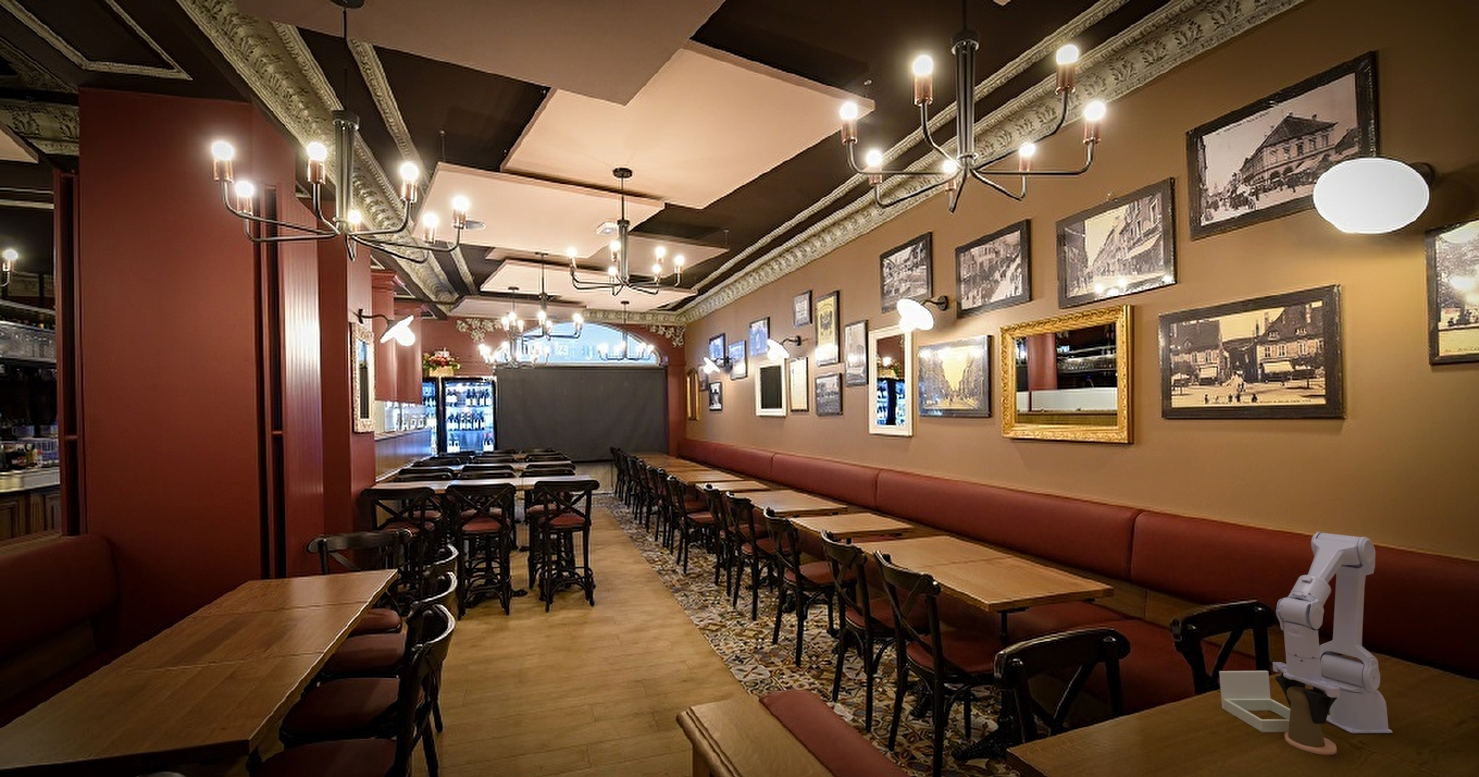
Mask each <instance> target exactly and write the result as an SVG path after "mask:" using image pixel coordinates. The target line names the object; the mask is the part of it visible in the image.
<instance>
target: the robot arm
mask: <svg viewBox="0 0 1479 777" xmlns="http://www.w3.org/2000/svg"><path fill="white" fill-rule="evenodd" d="M1310 542H1311V543H1310V546H1311V547H1310V548H1311V551H1312V553H1313V556H1314V557H1313V560H1312V563H1311V565H1310V567H1309V571H1308V572H1307V574H1303V575H1300V576H1299V577H1298V578H1297V580H1296V582H1295V584H1294V586H1293V587H1292V589H1291V590H1290V593H1289V594H1288V596H1286V597H1283V598H1280V599H1278V601H1277V604H1276V610H1275V614H1276V617H1277V619H1278V621H1279V625H1280V626H1279V627H1280V630H1281V631H1283V637H1284V639H1283V640H1284V649H1285V651H1284V652H1285V662H1286V663H1284V662H1282V661H1276V662H1275V661H1273V662H1272V671H1273V672H1275V673H1281V674H1280V675H1278V676H1277V675H1276V676H1275V681H1276V682H1277V683H1278V685H1279V687H1280V688H1281V690H1282V691H1283V694H1284V696H1285V698H1286V701H1287V703H1288V707H1289V708H1290V707H1291V701H1290V700H1289V699H1288V696H1287V690H1288V688H1289V687H1293V686H1297V687H1303V688H1306V685H1307V686H1308V687H1311V688H1312V689H1310V688H1307V689H1303V692H1304V694H1305V695H1306V697H1307V700H1308V702H1309V706H1310V710H1311V717H1312V720H1313V722H1314V723H1315V724H1320V725H1325V724H1326V723H1327V722H1328V723H1330V724H1332V725H1334V726H1336V727H1338V728H1340V729H1341V730H1344V731H1346V732H1348V733H1350V734H1390V733H1391V734H1393V730H1392V729H1390V728H1389V721H1388V720H1389V719H1388V709H1387V702H1386V699H1385V698H1384V695H1382V693H1381V692H1380V691H1379V690H1378V688H1379V687H1380V684H1381V673H1380V670H1379V661H1378V658H1377V657H1376V656H1374V655H1373V654H1372V653H1371V652H1370V651H1369V650H1367V649H1366V648H1365V647H1364V646H1363V624H1364V608H1365V607H1364V602H1365V586H1366V576H1369V575H1372V574H1374V572H1375V569H1376V549H1375V545H1374V543H1373V541H1372V540H1371V539H1370V538H1369V537H1367V536H1354V535H1346V534H1336V533H1326V532H1321V531H1317V532H1315V533H1314V534H1313V536H1312V537H1311V541H1310ZM1335 575H1336V577H1335V578H1336V580H1335V594H1334V595H1335V596H1334V611H1333V629H1332V630H1333V631H1332V632H1333V633H1332V640H1330V641H1327V642H1324V643H1322V644H1320V642H1319V641H1320V640H1319V629H1320V628H1321V626H1322V625H1323V619H1324V613H1325V609H1324V605H1325V604H1326V601H1327V599H1328V598H1329V596H1330V595H1331V593H1332V588H1331V586H1330V584H1329V582H1330V581H1331V580H1332V579H1333V577H1334V576H1335ZM1340 654H1341V655H1340ZM1342 655H1345V656H1342ZM1346 656H1347V657H1346ZM1348 656H1349V657H1348ZM1351 657H1353V658H1351ZM1354 658H1356V659H1354Z"/></svg>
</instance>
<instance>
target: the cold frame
mask: <svg viewBox="0 0 1479 777" xmlns="http://www.w3.org/2000/svg"><path fill="white" fill-rule="evenodd" d="M1218 674H1219V687H1220V698H1221V699H1220V700H1221V708H1222V710H1224V711H1226V712H1228V713H1229V714H1231V715H1233V716H1235V717H1236V718H1238V719H1240V720H1241V721H1243V722H1245V723H1246V724H1247V725H1249V726H1251V727H1252V728H1254V729H1256V730H1258V731H1259V732H1261V733H1285V732H1287V731H1289V719H1290V707H1289V706H1288V707H1287V706H1285V705H1284V704H1282V703H1280V702H1278V701H1276V700H1274V699H1273V698H1271V689H1270V687H1271V686H1270V675H1269V671H1268V670H1226V671H1225V670H1223V671H1222V670H1218ZM1250 711H1271V712H1273V713H1275V714H1276V715H1279V716H1280V717H1283V718H1280V719H1279V718H1275V719H1274V718H1271V719H1269V718H1266V719H1265V718H1264V719H1262V718H1260V717H1258V716H1257V715H1255V714H1253V713H1252V712H1250Z"/></svg>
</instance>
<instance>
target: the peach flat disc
mask: <svg viewBox="0 0 1479 777" xmlns="http://www.w3.org/2000/svg"><path fill="white" fill-rule="evenodd" d="M1323 738H1324V742H1325V746H1323V747H1314V746H1308V745H1304V744H1301V743H1298V742H1295V741H1293V740H1291V739H1290V738H1289V737H1288V731H1287V732H1284V740H1285V742H1286V743H1287V744H1289V745H1290V746H1293V747H1294V748H1296V749H1299V750H1301V751H1303V752H1308V753H1311V754H1317V755H1322V756H1330V755H1335V754H1337V753H1338V752H1337V751H1338V748H1337V744H1335V742H1333V741H1332V740H1330V739H1328V738H1326V737H1324V736H1323Z"/></svg>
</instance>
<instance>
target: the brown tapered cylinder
mask: <svg viewBox="0 0 1479 777" xmlns="http://www.w3.org/2000/svg"><path fill="white" fill-rule="evenodd" d="M1303 689H1308V688H1306V687H1305V688H1303V687H1297V686H1293V687H1289V688H1288V690H1287V696H1288V699H1289V700H1290V701H1291V707H1290V706H1289V708H1290V719H1289V731H1288V737H1289V738H1290V739H1291V740H1293V741H1295V742H1298V743H1301V744H1304V745H1308V746H1314V747H1323V746H1325V742H1324V738H1325V737H1324V735H1323V734H1324V733H1323V730H1322V727H1321V724H1315V723H1314V722H1313V720H1312V717H1311V710H1310V706H1309V702H1308V700H1307V697H1306V695H1305V694H1304V692H1303ZM1323 737H1324V738H1323Z"/></svg>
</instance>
